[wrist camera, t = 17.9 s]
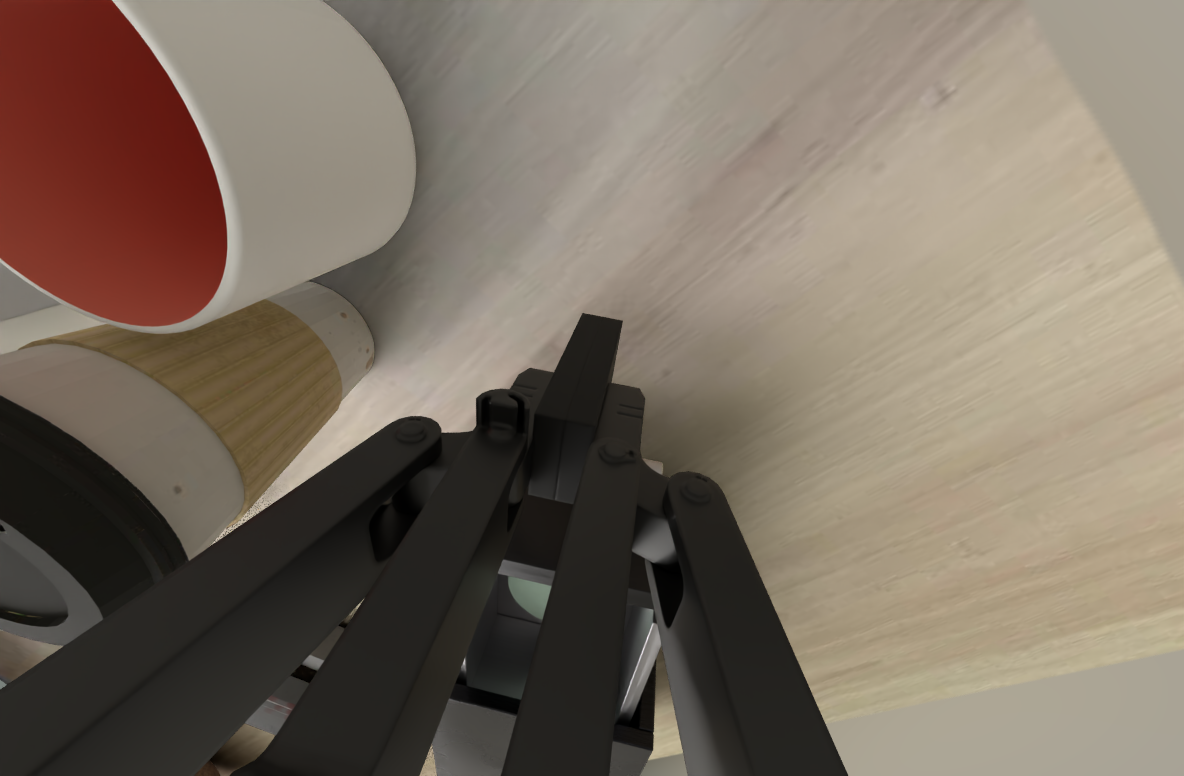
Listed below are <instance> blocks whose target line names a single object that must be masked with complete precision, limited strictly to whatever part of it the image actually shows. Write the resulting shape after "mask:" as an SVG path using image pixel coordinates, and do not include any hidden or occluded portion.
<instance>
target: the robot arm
mask: <svg viewBox="0 0 1184 776" xmlns="http://www.w3.org/2000/svg"><path fill="white" fill-rule="evenodd" d="M622 323H623V321H622V320H616V319H611V318H606V317H601V316H595V315H590V314H585V313H582V315H581V317H580V320H579V322H578V324H577V326H576V328H575V330H574V332H573V334H572V336H571V338H570V340H569V342H568V345H567V347H566V349H565V351H564V353H563V355H562V357H561V359H560V361H559V363H558V365H557V367H556V369H555V372H554V373H553V372H548V371H543V370H538V369H533V368H529V369H527V370H526V371H524V372H522V373H521V374H519V375H518V377H517V378H516V380H515V382H514V383H513V385H512V386H511V388H510V389H495V390H489V391H487V392H484V393H482V394H481V395H480V396H478V397H477V398H476V427H475V429H474V430H473V431H469V432H461V433H441V428H440V426H439V424H438V423H437V422H436V421H434V420H432V419H431V418H427V417H422V416H410V417H405V418H401V419H398V420H396V421H394V422H392V423H390V424H389V425H387V426H386V427H384V428H383V429H381V430H380V431H378V432H377V433H375V434H374V435H372V436H371V437H370V438H368V439H367V440H365V441H364V442H362V443H361V444H359V445H358V446H356V447H355V448H353V449H352V450H350V451H349V452H348V453H346V454H345V455H343V456H342V457H340V458H339V459H337V460H336V461H334V462H333V463H331V464H330V465H329V466H327V467H326V468H324V469H323V470H321V471H320V472H318V473H317V474H315V475H314V476H312V477H311V478H309V479H308V480H307V481H305V482H304V483H302V484H301V485H299V486H298V487H296V488H295V489H293V490H292V491H290V492H289V493H288V494H286V495H285V496H283V497H282V498H280V499H279V500H277V501H276V502H274V503H273V504H271V505H270V506H268V507H267V508H266V509H264V510H263V511H261V512H260V513H258V514H257V515H255V516H254V517H252V518H251V519H249V520H248V521H247V522H245V523H244V524H242V525H241V526H239V527H238V528H236V529H235V530H233V531H232V532H230V533H229V534H227V535H226V536H225V537H223V538H222V539H220V540H219V541H217V542H216V543H214V544H213V545H211V546H210V547H208V548H207V549H206V550H204V551H203V552H201V553H200V554H198V555H197V556H195V557H194V558H192V559H191V560H189V561H188V562H186V563H185V564H184V565H182V566H181V567H179V568H178V569H176V570H175V571H173V572H172V573H170V574H169V575H167V576H166V577H165V578H163V579H162V580H160V581H159V582H157V583H156V584H154V585H153V586H151V587H150V588H148V589H147V590H145V591H144V592H143V593H141V594H140V595H138V596H137V597H135V598H134V599H132V600H131V601H129V602H128V603H126V604H125V605H124V606H122V607H121V608H119V609H118V610H116V611H115V612H113V613H112V614H110V615H109V616H107V617H106V618H104V619H103V620H102V621H100V622H99V623H97V624H96V625H94V626H93V627H91V628H90V629H88V630H87V631H85V632H84V633H82V634H81V635H80V636H78V637H77V638H75V639H74V640H72V641H71V642H69V643H68V644H66V645H65V646H63V647H62V648H61V649H59V650H58V651H56V652H55V653H53V654H52V655H50V656H49V657H47V658H46V659H44V660H43V661H41V662H40V663H39V664H37V665H36V666H34V667H33V668H31V669H30V670H28V671H27V672H25V673H24V674H22V675H21V676H20V677H18V678H17V679H15V680H14V681H12V682H11V683H9V684H8V685H6V686H5V687H3V688H2V689H0V776H194V775H195V774H196V773H197V772H198V771H199V770H200V769H201V768H202V767H203V766H204V765H205V764H206V763H207V762H208V761H209V760H210V759H211V758H212V756H213V755H214V754H215V753H216V752H217V751H218V750H219V749H220V748H221V747H222V746H223V745H224V744H225V743H226V742H227V741H228V740H229V739H230V738H231V737H232V736H233V735H234V734H235V732H236V731H237V730H238V729H239V728H240V727H241V726H242V725H243V724H244V723H245V722H246V721H247V720H248V719H249V718H250V717H251V716H252V715H253V714H254V713H255V712H256V711H257V710H258V709H259V707H260V706H261V705H262V704H263V703H264V702H265V701H266V700H267V699H268V698H269V697H270V696H271V695H272V694H273V693H274V692H275V691H276V690H277V689H278V688H279V687H280V686H281V685H282V683H283V682H284V681H285V680H286V679H287V678H288V677H289V676H290V675H291V674H292V673H293V672H294V671H295V670H296V669H297V668H298V667H299V666H300V665H301V664H302V663H303V662H304V661H305V659H306V658H307V657H308V656H309V655H310V654H311V653H312V652H313V651H314V650H315V649H316V648H317V647H318V646H319V645H320V644H321V643H322V642H323V641H324V640H325V639H326V638H327V637H328V635H329V634H330V633H331V632H332V631H333V630H334V629H335V628H336V627H337V626H338V625H339V624H340V623H341V622H342V621H343V620H344V619H345V618H346V617H347V616H348V615H349V614H350V613H351V611H352V610H353V609H354V608H355V607H356V606H357V605H358V604H359V603H360V602H361V601H362V600H363V599H364V600H363V602H362V603H361V605H360V606H359V608H358V609H357V611H356V612H355V614H354V615H353V617H352V619H351V620H350V622H349V623H348V625H347V626H346V628H345V629H344V631H343V632H342V634H341V636H340V637H339V639H338V640H337V642H336V643H335V645H334V646H333V648H332V649H331V651H330V652H329V654H328V656H327V657H326V659H325V660H324V662H323V663H322V665H321V666H320V668H319V669H318V671H317V673H316V674H315V676H314V677H313V679H312V680H311V682H310V683H309V685H308V686H307V688H306V690H305V691H304V693H303V694H302V696H301V697H300V699H299V700H298V702H297V703H296V705H295V707H294V708H293V710H292V711H291V713H290V714H289V716H288V717H287V719H286V720H285V722H284V724H283V725H282V727H281V728H280V730H279V731H278V733H277V734H276V736H275V737H274V739H273V740H272V742H271V743H270V744H269V746H268V747H267V748H266V750H265V751H264V752H263V753H262V754H261V755H260V756H259V757H258V758H257V759H256V760H254V761H253V762H251V763H249V764H247V765H245V766H243V767H242V768H240V769H238V770H236V771H234V772H233V773H232V774H231V775H230V776H419V775H420V772H421V770H422V767H423V765H424V762H425V760H426V757H427V754H428V752H429V749H430V747H431V744H432V742H433V739H434V736H435V734H436V731H437V729H438V726H439V724H440V721H441V718H442V716H443V713H444V711H445V708H446V705H447V703H448V700H449V698H450V695H451V693H452V690H453V687H454V685H455V682H456V680H457V677H458V675H459V672H460V669H461V667H462V664H463V662H464V659H465V656H466V654H467V651H468V649H469V646H470V644H471V641H472V638H473V636H474V633H475V631H476V628H477V626H478V623H479V620H480V618H481V615H482V613H483V610H484V607H485V605H486V602H487V600H488V597H489V595H490V592H491V589H492V587H493V584H494V582H495V579H496V577H497V574H498V571H499V569H500V566H501V564H502V561H503V559H504V556H505V553H506V551H507V548H508V546H509V543H510V540H511V538H512V535H513V533H514V530H515V528H516V525H517V522H518V520H519V517H520V515H521V512H522V509H523V500H524V493H525V491H526V489H527V486H528V484H529V487H528V495H533V496H537V497H542V498H547V499H551V500H556V501H560V502H565V503H569V504H573V508H572V511H571V515H570V519H569V523H568V526H567V530H566V534H565V537H564V541H563V545H562V549H561V552H560V556H559V560H558V564H557V567H556V571H555V575H554V579H553V582H552V586H551V590H550V593H549V597H548V601H547V605H546V608H545V612H544V616H543V620H542V623H541V627H540V631H539V635H538V638H537V642H536V646H535V650H534V653H533V657H532V661H531V664H530V668H529V672H528V676H527V679H526V683H525V687H524V691H523V694H522V698H521V702H520V706H519V709H518V713H517V717H516V721H515V724H514V728H513V732H512V735H511V739H510V743H509V747H508V750H507V754H506V758H505V762H504V765H503V769H502V773H501V776H609V773H610V763H611V753H612V743H613V734H614V724H615V714H616V704H617V694H618V684H619V674H620V664H621V654H622V645H623V635H624V625H625V615H626V605H627V595H628V585H629V575H630V566H631V556H632V552H634V553H636V554H638V555H640V556H642V557H643V558H645V566H646V571H647V576H648V581H649V586H650V591H651V596H652V601H653V606H654V611H655V616H656V621H657V626H658V630H659V635H660V640H661V645H662V650H663V655H664V660H665V665H666V670H667V675H668V680H669V685H670V690H671V695H672V700H673V705H674V710H675V715H676V720H677V724H678V729H679V734H680V739H681V744H682V749H683V754H684V759H685V764H686V769H687V774H688V776H848V774H847V772H846V770H845V767H844V765H843V763H842V760H841V758H840V756H839V754H838V751H837V749H836V747H835V745H834V742H833V740H832V738H831V736H830V733H829V731H828V729H827V726H826V724H825V722H824V720H823V717H822V715H821V713H820V711H819V708H818V706H817V704H816V702H815V699H814V697H813V695H812V692H811V690H810V688H809V686H808V683H807V681H806V679H805V677H804V674H803V672H802V670H801V667H800V665H799V663H798V661H797V658H796V656H795V654H794V652H793V649H792V647H791V645H790V643H789V640H788V638H787V636H786V633H785V631H784V629H783V627H782V624H781V622H780V620H779V618H778V615H777V613H776V611H775V609H774V606H773V604H772V602H771V599H770V597H769V595H768V593H767V590H766V588H765V586H764V584H763V581H762V579H761V577H760V574H759V572H758V570H757V568H756V565H755V563H754V561H753V559H752V556H751V554H750V552H749V550H748V547H747V545H746V543H745V540H744V538H743V536H742V534H741V531H740V529H739V527H738V525H737V522H736V520H735V518H734V516H733V513H732V511H731V509H730V506H729V504H728V502H727V500H726V497H725V495H724V493H723V491H722V490H721V488H720V487H719V486H718V484H716V483H715V482H714V481H713V480H711V479H710V478H708V477H706V476H704V475H702V474H700V473H695V472H689V471H687V472H679V473H677V474H675V475H673V476H671V478H668V477H666V476H664V475H662V474H660V473H658V472H656V471H654V470H653V469H651V468H650V467H649V466H648V465H647V464H646V463H645V462H644V460H643V459H642V457H641V454H640V443H641V434H642V424H643V414H644V405H645V398H644V396H643V394H642V392H641V390H640V389H639V388H634V387H629V386H624V385H619V384H614V383H611V382H612V376H613V371H614V366H615V360H616V355H617V350H618V344H619V339H620V333H621V328H622Z"/></svg>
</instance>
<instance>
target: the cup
mask: <svg viewBox="0 0 1184 776" xmlns="http://www.w3.org/2000/svg"><path fill="white" fill-rule="evenodd" d="M415 180H416V153H415V146H414V139H413V135H412V130H411V126H410V122H409V119H408V116H407V113H406V110H405V107H404V104H403V102H402V100H401V97H400V95H399V93H398V90H397V88H396V86H395V84H394V82H393V80H392V79H391V77H390V75H389V73H388V71H387V70H386V68H385V67H384V65H383V63H382V62H381V60H380V59H379V57H378V56H377V54H376V53H375V52H374V50H373V49H372V48H371V46H370V45H369V44H368V43H367V41H366V40H365V39H364V38H363V37H362V36H361V35H360V34H359V32H358V31H357V30H356V29H355V28H354V27H353V26H352V25H351V24H350V23H349V22H348V21H347V20H346V19H344V18H343V17H342V16H341V15H340V14H339V13H337V12H336V11H335V10H334V9H332V8H331V7H330V6H329V5H327V4H326V3H324V2H323V1H321V0H0V262H1V263H2V264H3V265H4V266H6V267H7V268H8V269H9V270H11V271H12V272H14V273H15V274H16V275H18V276H19V277H20V278H22V279H23V280H24V281H26V282H27V283H29V284H30V285H32V286H34V287H35V288H37V289H38V290H40V291H41V292H43V293H44V294H46V295H48V296H49V297H51V298H53V299H55V300H56V301H58V302H60V303H61V304H63V305H65V306H67V307H69V308H71V309H73V310H75V311H77V312H79V313H82V314H84V315H86V316H88V317H91V318H93V319H96V320H98V321H101V322H103V323H106V324H109V325H112V326H115V327H119V328H123V329H127V330H132V331H137V332H143V333H154V334H169V333H178V332H184V331H188V330H192V329H195V328H197V327H200V326H202V325H204V324H207V323H209V322H211V321H214V320H216V319H219V318H221V317H223V316H226V315H228V314H230V313H233V312H235V311H237V310H240V309H242V308H245V307H247V306H249V305H252V304H254V303H256V302H259V301H261V300H263V299H266V298H268V297H271V296H273V295H275V294H278V293H280V292H282V291H285V290H287V289H289V288H292V287H294V286H297V285H299V284H301V283H304V282H306V281H308V280H311V279H313V278H315V277H318V276H320V275H322V274H325V273H327V272H329V271H332V270H334V269H336V268H339V267H341V266H343V265H346V264H348V263H350V262H353V261H355V260H357V259H360V258H362V257H364V256H367V255H369V254H371V253H373V252H375V251H376V250H378V249H379V248H381V247H382V246H383V245H385V244H386V243H387V242H388V241H389V240H390V239H391V238H392V237H393V235H394V234H395V233H396V232H397V231H398V229H399V228H400V226H401V225H402V223H403V221H404V220H405V218H406V216H407V213H408V211H409V209H410V205H411V202H412V199H413V194H414V188H415Z"/></svg>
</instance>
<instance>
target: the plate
mask: <svg viewBox="0 0 1184 776" xmlns="http://www.w3.org/2000/svg"><path fill="white" fill-rule="evenodd" d="M508 586H509V590H510V592H511V594H512V596H513V598H514V599H515V600H516V602H517V603H518V604H519V605H520V606H521V607H522V608H523V609H525V610H526V611H527V612H529V613H530V614H532V615H533V616H535V617H537V618H539V619H541V620H543V616H544V612H545V608H546V605H547V601H548V597H549V593H550V590H551V586H549V585H545V584H540V583H536V582H532V581H527V580H523V579H519V578H515V577H510V576H508Z"/></svg>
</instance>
